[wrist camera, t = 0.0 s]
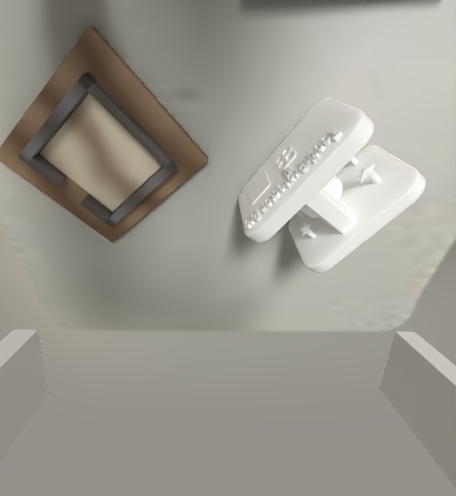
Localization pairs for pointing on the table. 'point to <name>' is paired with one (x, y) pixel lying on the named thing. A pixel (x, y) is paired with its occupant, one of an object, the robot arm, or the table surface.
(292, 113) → the table surface
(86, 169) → the brown flat square frame
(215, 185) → the table surface
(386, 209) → the white piece
